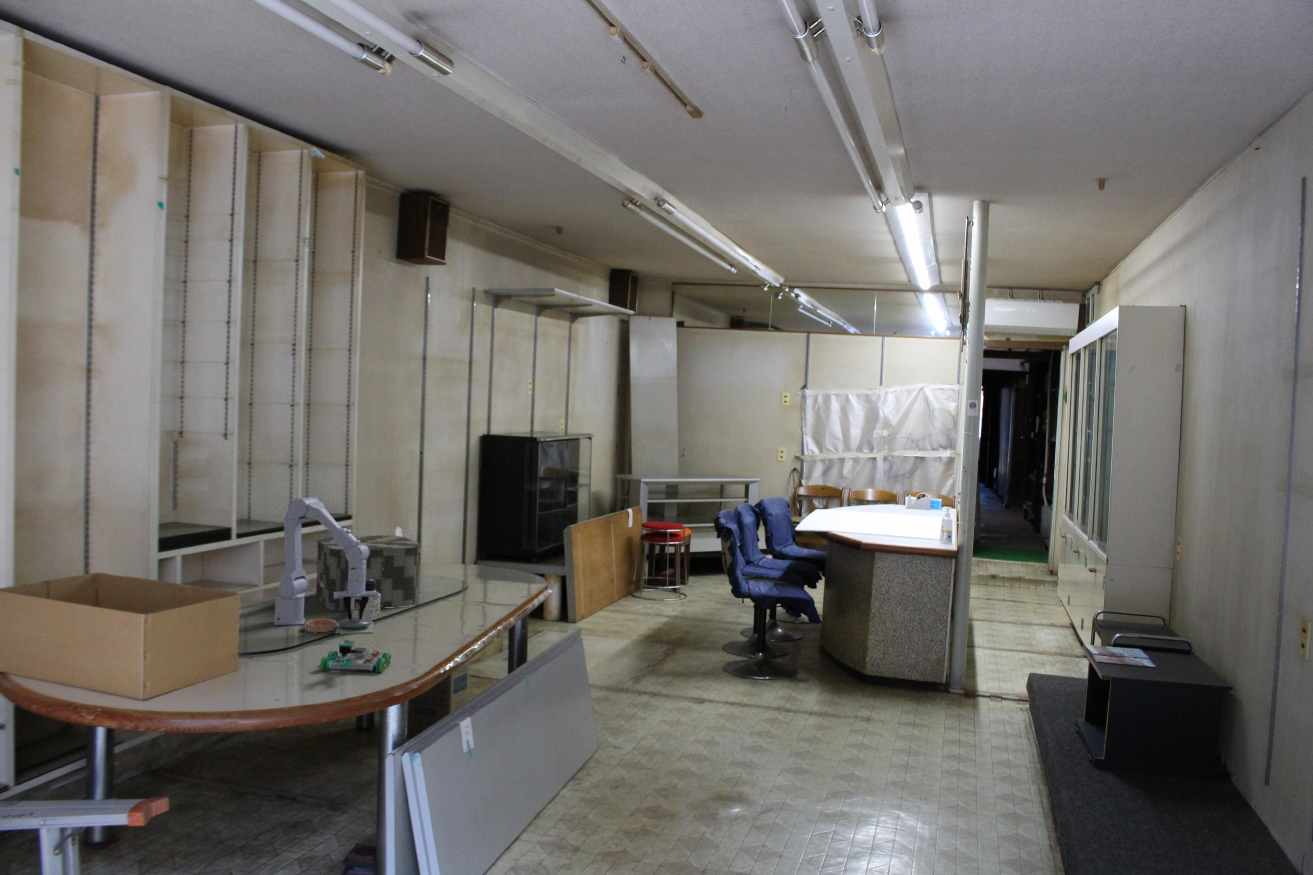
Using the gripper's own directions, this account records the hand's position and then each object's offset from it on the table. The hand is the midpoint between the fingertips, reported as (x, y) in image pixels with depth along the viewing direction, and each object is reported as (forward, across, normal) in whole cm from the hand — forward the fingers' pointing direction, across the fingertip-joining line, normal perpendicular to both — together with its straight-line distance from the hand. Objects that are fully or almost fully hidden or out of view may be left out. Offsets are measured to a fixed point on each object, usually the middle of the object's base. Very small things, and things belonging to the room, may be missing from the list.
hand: (355, 618), depth 309 cm
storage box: (+4, +3, +46) cm, 46 cm away
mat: (+3, 0, 0) cm, 3 cm away
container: (+4, +3, +20) cm, 21 cm away
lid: (+2, 0, 0) cm, 2 cm away
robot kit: (+4, +1, -52) cm, 52 cm away
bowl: (+3, -11, 0) cm, 12 cm away
